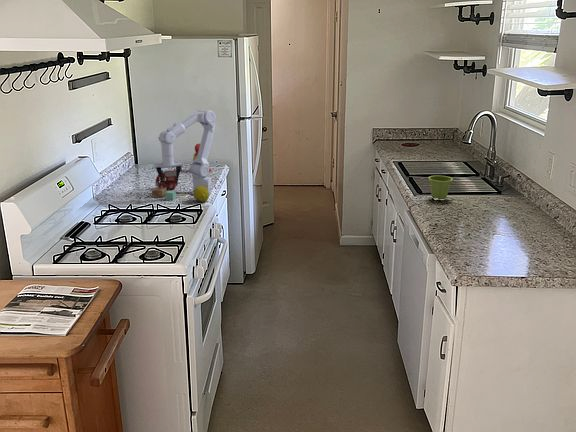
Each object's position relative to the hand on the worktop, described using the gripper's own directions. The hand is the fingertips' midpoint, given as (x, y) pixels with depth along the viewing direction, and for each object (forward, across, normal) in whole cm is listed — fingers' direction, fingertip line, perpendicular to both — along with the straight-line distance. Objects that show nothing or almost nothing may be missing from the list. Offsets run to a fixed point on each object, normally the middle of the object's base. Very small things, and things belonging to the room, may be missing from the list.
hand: (169, 181), depth 290 cm
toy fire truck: (+10, +1, -23) cm, 25 cm away
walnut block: (+10, +6, -8) cm, 13 cm away
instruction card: (+9, -6, -5) cm, 12 cm away
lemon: (+10, -15, +8) cm, 20 cm away
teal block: (+10, 0, 0) cm, 10 cm away
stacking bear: (+10, -22, -62) cm, 66 cm away
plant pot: (+10, -133, +35) cm, 138 cm away
